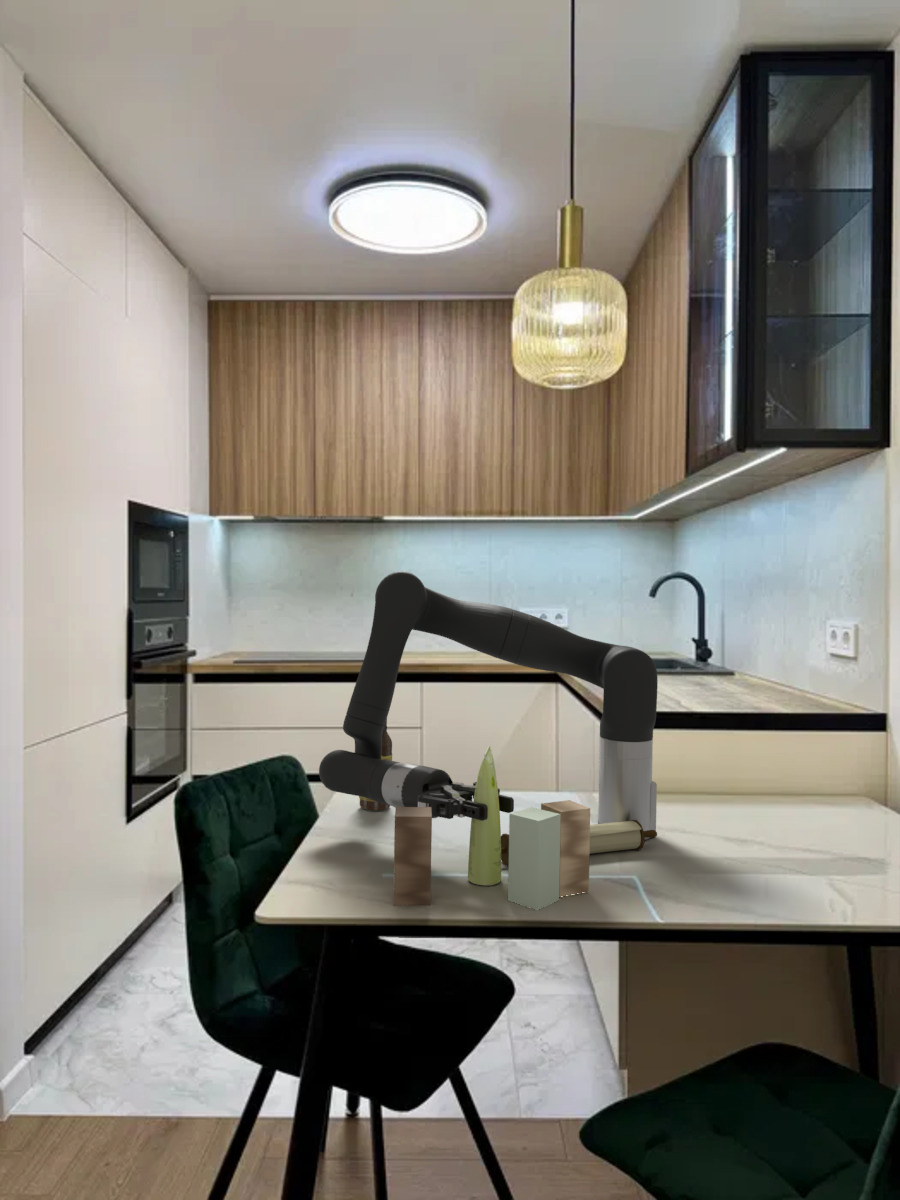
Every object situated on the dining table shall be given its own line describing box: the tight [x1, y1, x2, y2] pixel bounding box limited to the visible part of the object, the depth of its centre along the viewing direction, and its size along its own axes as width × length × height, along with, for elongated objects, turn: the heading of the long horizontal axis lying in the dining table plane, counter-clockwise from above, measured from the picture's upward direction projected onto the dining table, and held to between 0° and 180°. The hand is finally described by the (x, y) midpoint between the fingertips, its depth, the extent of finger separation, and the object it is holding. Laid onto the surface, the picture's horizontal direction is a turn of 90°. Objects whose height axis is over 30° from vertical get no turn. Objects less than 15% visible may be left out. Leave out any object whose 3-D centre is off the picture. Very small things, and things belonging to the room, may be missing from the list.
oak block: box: [540, 799, 591, 897], centre depth 117 cm, size 5×5×12 cm
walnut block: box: [392, 807, 433, 906], centre depth 113 cm, size 5×5×12 cm
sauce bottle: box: [358, 719, 393, 812], centre depth 160 cm, size 6×6×20 cm
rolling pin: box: [501, 820, 658, 868], centre depth 133 cm, size 32×6×5 cm, turn 112°
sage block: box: [507, 806, 561, 911], centre depth 113 cm, size 5×5×12 cm
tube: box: [467, 743, 502, 887], centre depth 120 cm, size 6×5×20 cm
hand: (499, 809), depth 119 cm, fingers closed on tube, 5 cm apart
